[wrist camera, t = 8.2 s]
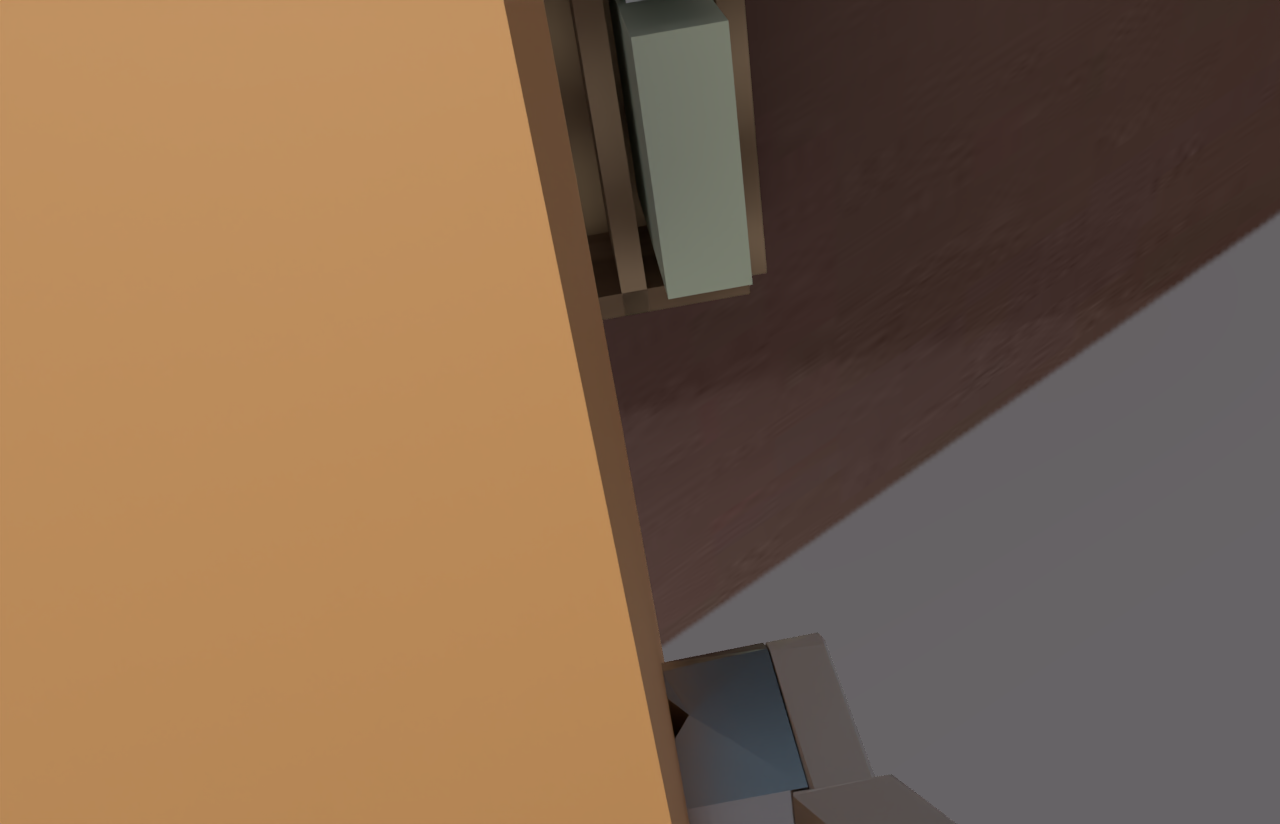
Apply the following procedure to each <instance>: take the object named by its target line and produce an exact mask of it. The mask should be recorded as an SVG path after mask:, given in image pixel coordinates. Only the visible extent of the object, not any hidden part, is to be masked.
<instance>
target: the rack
mask: <svg viewBox="0 0 1280 824" xmlns="http://www.w3.org/2000/svg"><path fill="white" fill-rule="evenodd" d="M713 1H714V2H715V4H716V5H717V6H718V8H719V9H720V10H721V11H722V13H723V14H724V15H725V17H726V18H727V19H728V21H729V32H730V43H731V54H732V64H733V75H734V86H735V97H736V108H737V119H738V130H739V141H740V152H741V163H742V174H743V185H744V196H745V207H746V218H747V229H748V240H749V251H750V262H751V273H752V275H758V274H763V273H767V268H766V255H765V243H764V231H763V219H762V207H761V195H760V182H759V170H758V158H757V146H756V134H755V122H754V109H753V97H752V85H751V73H750V61H749V49H748V36H747V24H746V12H745V0H713ZM544 5H545V11H546V16H547V22H548V27H549V32H550V38H551V43H552V49H553V54H554V60H555V65H556V71H557V76H558V81H559V87H560V92H561V98H562V103H563V109H564V114H565V119H566V125H567V130H568V136H569V141H570V147H571V152H572V158H573V163H574V168H575V174H576V179H577V185H578V190H579V196H580V201H581V206H582V212H583V217H584V223H585V228H586V234H587V239H588V245H589V250H590V255H591V261H592V266H593V272H594V277H595V283H596V288H597V293H598V299H599V304H600V310H601V315H602V320H606V319H611V318H617V317H622V316H628V315H634V314H639V313H645V312H650V311H656V310H662V309H667V308H673V307H678V306H684V305H690V304H695V303H701V302H706V301H712V300H717V299H723V298H729V297H734V296H740V295H745V294H750V288H749V285H746V286H741V287H735V288H729V289H724V290H718V291H713V292H707V293H701V294H696V295H690V296H685V297H679V298H674V299H668V297H667V293H666V290H665V286H664V283H663V279H662V276H661V273H660V269H659V266H658V262H657V259H656V255H655V252H654V248H653V245H652V242H651V238H650V235H649V231H648V228H647V224H646V221H645V217H644V214H643V211H642V207H641V204H640V200H639V197H638V193H637V186H636V180H635V173H634V167H633V160H632V153H631V147H630V140H629V133H628V127H627V120H626V114H625V107H624V100H623V94H622V87H621V81H620V74H619V67H618V61H617V54H616V48H615V41H614V34H613V28H612V21H611V14H610V8H609V1H608V0H544Z"/></svg>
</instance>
